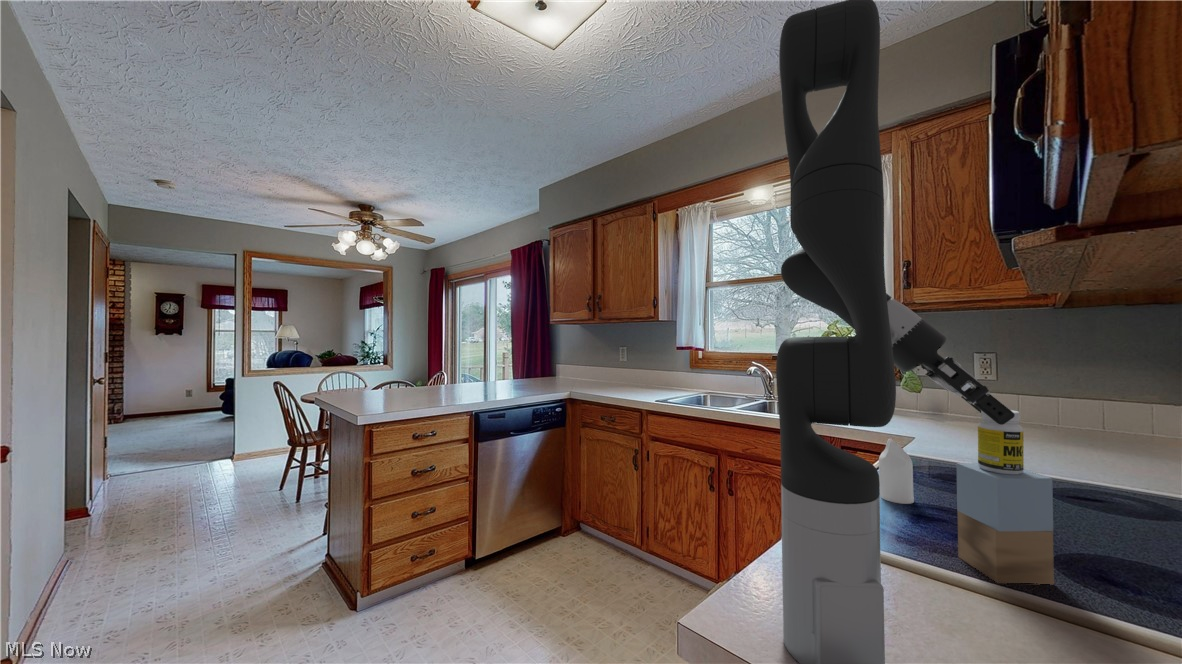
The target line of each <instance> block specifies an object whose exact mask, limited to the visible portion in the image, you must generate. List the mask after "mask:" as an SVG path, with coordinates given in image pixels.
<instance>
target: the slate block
mask: <svg viewBox="0 0 1182 664" xmlns="http://www.w3.org/2000/svg"><path fill="white" fill-rule="evenodd" d="M955 464H956V468H955V469H956V509H957V511H959V512H961V513H963V514H965V515H967V516H969V517H971V518H973V519H975V520H977V521H979V522H981V523H983V524H985V525H987V526H989V527H991V528H993V529H995V530H997V531H1052V532H1054V506H1053V505H1054V502H1053V497H1054V496H1053V494H1054V493H1053V478H1052V477H1050V476H1046V475H1043V474H1040V473H1037V472H1035V471H1031V470H1028V469H1025V468H1024V471H1023V473H1022V474H1018V475H1008V474H1000V473H995V472H991V471H987V470H984V469H981V468H980V467H979V466H978V462H959V463H958V462H957V463H955Z"/></svg>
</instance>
